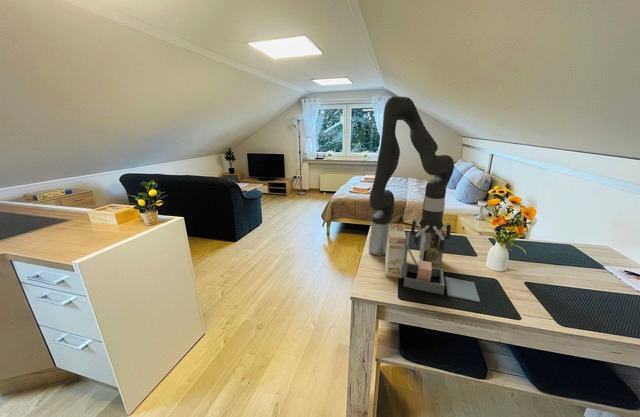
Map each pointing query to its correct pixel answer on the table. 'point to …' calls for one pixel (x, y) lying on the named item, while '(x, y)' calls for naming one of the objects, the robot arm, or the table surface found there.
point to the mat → (461, 289)
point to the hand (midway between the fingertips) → (428, 245)
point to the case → (419, 283)
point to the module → (424, 271)
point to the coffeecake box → (395, 250)
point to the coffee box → (431, 248)
